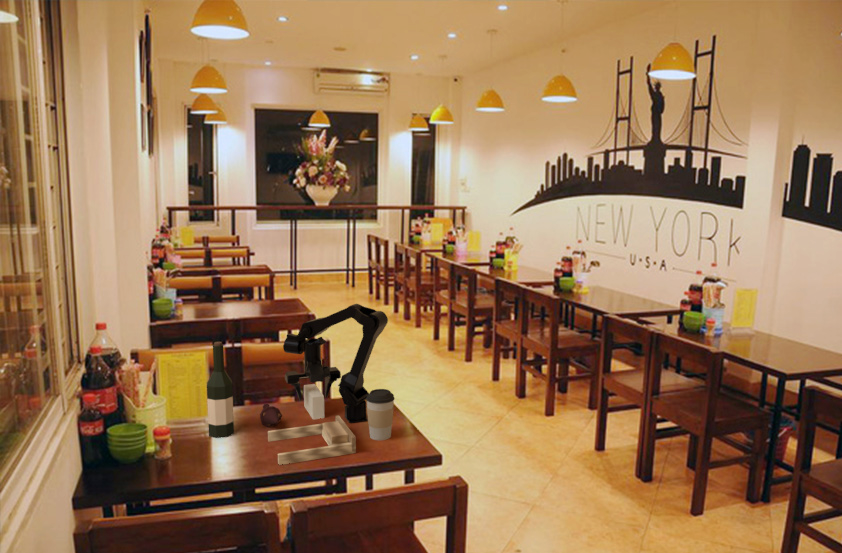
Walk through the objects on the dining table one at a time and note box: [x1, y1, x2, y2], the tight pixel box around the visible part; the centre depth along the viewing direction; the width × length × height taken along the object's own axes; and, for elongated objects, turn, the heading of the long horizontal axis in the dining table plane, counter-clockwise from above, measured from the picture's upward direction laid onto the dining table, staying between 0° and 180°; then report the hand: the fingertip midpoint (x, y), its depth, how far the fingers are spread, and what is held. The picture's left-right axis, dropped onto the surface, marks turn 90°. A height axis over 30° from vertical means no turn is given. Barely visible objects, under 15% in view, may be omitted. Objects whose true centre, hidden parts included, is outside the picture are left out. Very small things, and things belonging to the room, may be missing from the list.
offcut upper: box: [322, 420, 348, 445], centre depth 200 cm, size 5×12×2 cm, turn 22°
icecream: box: [259, 403, 283, 428], centre depth 213 cm, size 7×7×15 cm
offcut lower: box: [321, 430, 348, 446], centre depth 200 cm, size 5×14×2 cm, turn 23°
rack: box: [267, 415, 357, 466], centre depth 196 cm, size 23×19×5 cm
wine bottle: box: [206, 341, 235, 439], centre depth 205 cm, size 8×8×30 cm
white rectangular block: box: [303, 383, 325, 420], centre depth 226 cm, size 4×14×8 cm, turn 22°
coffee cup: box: [365, 388, 395, 441], centre depth 204 cm, size 9×9×15 cm
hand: (313, 398), depth 226 cm, fingers open, 9 cm apart
